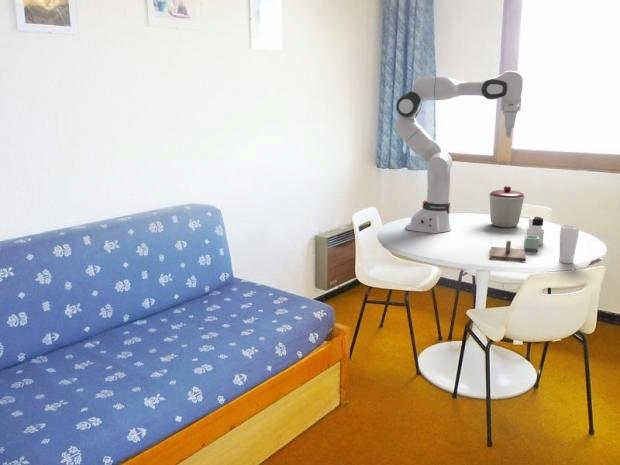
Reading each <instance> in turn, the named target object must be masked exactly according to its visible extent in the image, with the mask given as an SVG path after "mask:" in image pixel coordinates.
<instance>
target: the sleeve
mask: <svg viewBox="0 0 620 465" xmlns="http://www.w3.org/2000/svg"><path fill="white" fill-rule="evenodd" d="M523 249H524V250H525V252H529V253H538V252H539V237H538V236H530V235H526V234H525V236H524V246H523Z"/></svg>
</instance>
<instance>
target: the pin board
mask: <svg viewBox="0 0 620 465" xmlns="http://www.w3.org/2000/svg"><path fill="white" fill-rule="evenodd" d="M511 245H512V241H511V240H506V244H505V247H500V246H499V247H498V246H490V256H489V259H490V260H498V259H500V260H501V261H509V260H511V261H512V260H513V261H512V262H521V261H525V262H526V259H527V257H526V251H525V250H524V248H511ZM500 260H499V261H500ZM511 261H510V262H511Z"/></svg>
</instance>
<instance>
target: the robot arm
mask: <svg viewBox="0 0 620 465" xmlns="http://www.w3.org/2000/svg"><path fill="white" fill-rule="evenodd" d="M523 80H524V79H523V74H522V73H520V72H519V71H515V70H505V71H504V72H502V73H501V74H499V75H497V76H494V77H492V78H489V79H486V80H484V81H460V80H457V79H454V78H452V77H445V76H426V77H421V78H417V79H415V81H414V82H413V83H412V84H413V85H412V89H411V91H408V92H407V93H405V94H403V95H402V96H400V97H399V98H398V99H397V101H396V104H395V109H396V112H397V113H398V114H399V117H398V119H397V120H396V121H395V124H394V129H395V131H396V133H397V135H398V136H399V137H400V138H401V140H402V141H403V142H404V143H405V144H406V145H407V147H408V148H409V149H410V151H412V152H413V153H414V154H415V155H417V157H419V158H420V160H423V162H424V163H426V164H427V167H426V169H427V170H426V171H427V173H426V174H427V175H426V177H427V193H426V200H423V201H422V208H421V209H420V210H418V211H416V212H415V213H414V214H413V215H412V217H411V219H410V222H408V223H407V224H406V226H405V229H406V230H408V231H413V232H414V231H415V232H421V233H423V232H424V233H431V234H439V233H445V232H450V231H451V230H452V228H451V224H450V211H451V202H450V193H451V168H452V165H453V159H452V156H451V155H450V154H449V153H448V152H447V151H446V150H445V149H444V148H443V147H442V146H441V145H440V144H439V143H438V142H437V141H435V140H434V139H433V138H432V137H431V136H430V135H429V133H427V131H426V130H425V129H424V128H423V127H422V126H421V125H420V124H419V123H418V122H417V120H416V118H417V116H418V115H419V113H420V111H421V108H422V103H423V102H426V101H445V100H449V99H453V98H456V97H460V96H480V97H483V98H485V99H487V100H490V101H491V100H497V99H500V100H501V101H500V111H501V112H502V115H504V127H505V132H506V133H505V134H506V136H505V137H506V138H508V139H510V138H511V134H512V129H514V127H515V122H516V118H517V115H518V112H519V111H521V109H522V108H521V106H522V93H523Z"/></svg>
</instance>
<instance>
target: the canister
mask: <svg viewBox="0 0 620 465" xmlns="http://www.w3.org/2000/svg"><path fill="white" fill-rule="evenodd" d="M488 196H489V211H490V212H489V213H490V222H491V224H492V225H493V226H494V227H498V228H503V229H504V228H506V229H510V228H514V227H516V226H518V225H519V222H520V219H521V214H522V210H523V204H524V201H525V200H524V199H525V198H526V195H525V194H524V193H523V192H521V191H517V190H512V188H511V186H510V185H505V186H504V187H503V189H497V190H493V191H491V192H488Z"/></svg>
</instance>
